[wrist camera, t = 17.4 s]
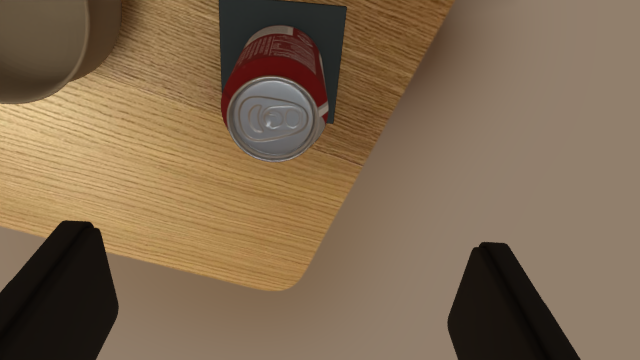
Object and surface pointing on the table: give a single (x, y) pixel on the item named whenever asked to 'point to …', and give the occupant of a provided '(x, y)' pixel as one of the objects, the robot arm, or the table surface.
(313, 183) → the table surface
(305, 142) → the soda can
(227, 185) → the table surface
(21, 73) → the bowl
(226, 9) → the coaster mat
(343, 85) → the table surface
